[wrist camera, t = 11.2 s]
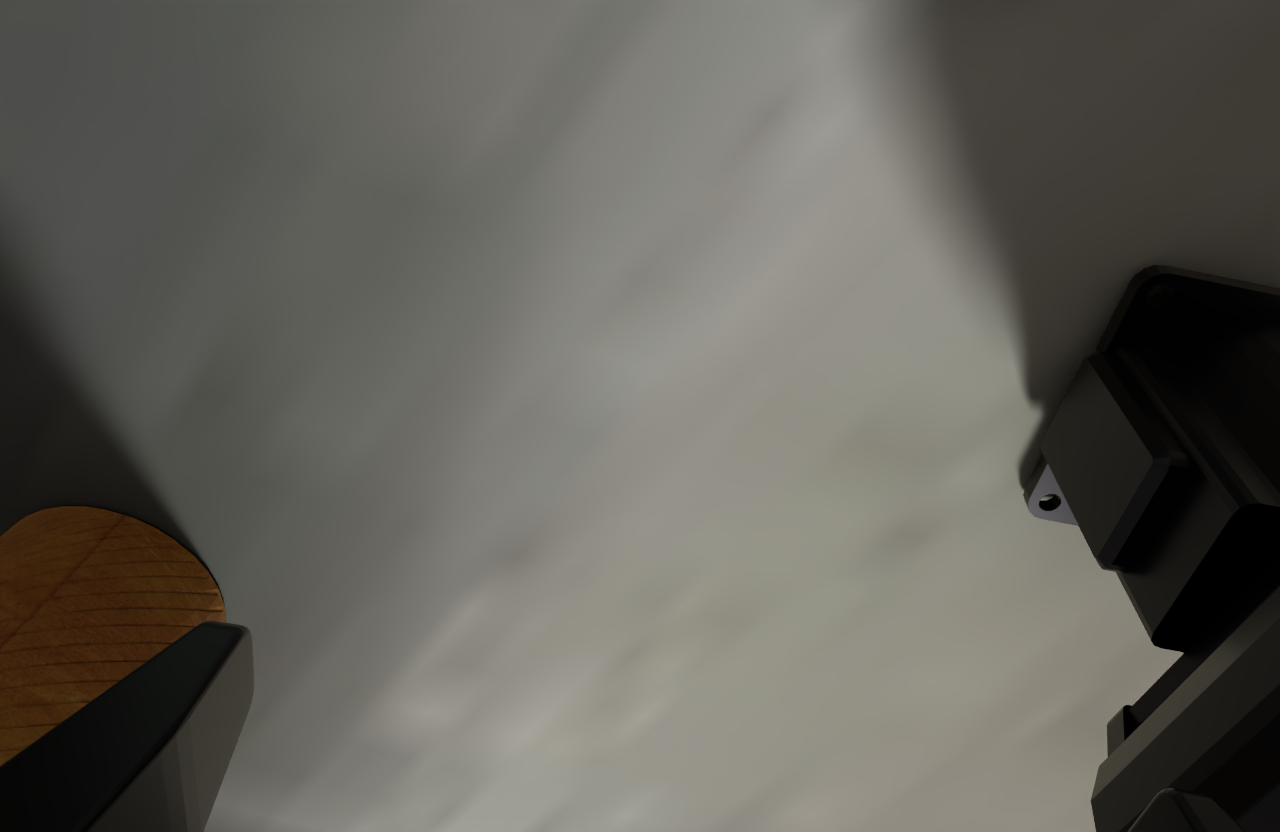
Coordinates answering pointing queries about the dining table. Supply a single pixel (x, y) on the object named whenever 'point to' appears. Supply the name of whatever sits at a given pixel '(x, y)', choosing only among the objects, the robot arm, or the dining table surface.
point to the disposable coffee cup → (87, 611)
